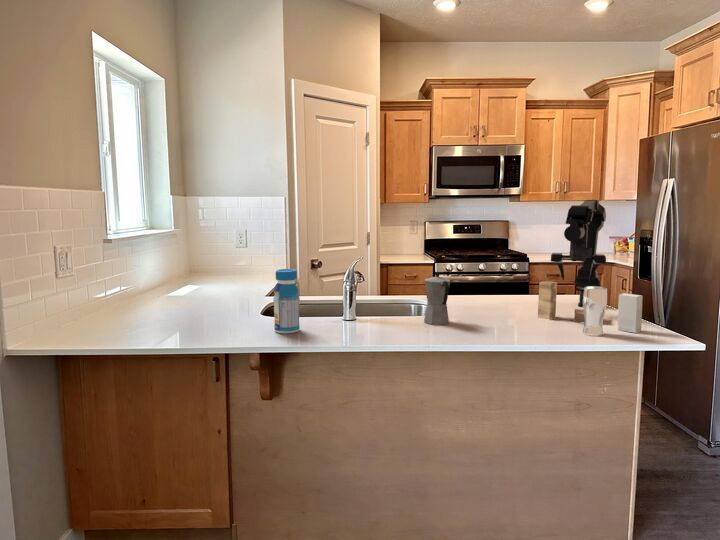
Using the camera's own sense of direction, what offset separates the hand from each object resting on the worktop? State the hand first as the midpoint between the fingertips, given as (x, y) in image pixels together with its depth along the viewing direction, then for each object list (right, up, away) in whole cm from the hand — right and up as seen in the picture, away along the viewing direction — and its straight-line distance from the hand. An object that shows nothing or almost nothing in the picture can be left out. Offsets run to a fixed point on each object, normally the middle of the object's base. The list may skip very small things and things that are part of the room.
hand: (576, 280), depth 191 cm
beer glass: (-6, -17, -27) cm, 32 cm away
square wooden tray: (+1, -14, -8) cm, 16 cm away
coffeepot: (-54, -15, -13) cm, 57 cm away
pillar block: (-13, -13, -4) cm, 19 cm away
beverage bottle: (-105, -16, -24) cm, 109 cm away
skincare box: (+7, -16, -23) cm, 29 cm away
